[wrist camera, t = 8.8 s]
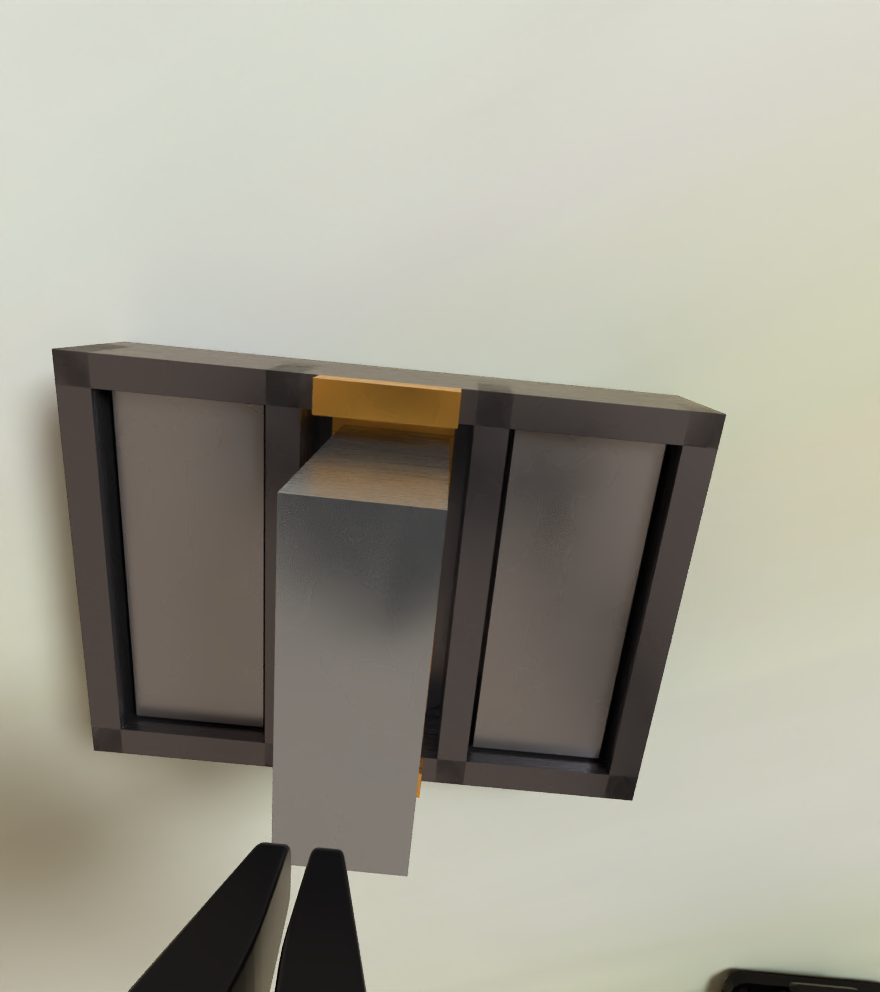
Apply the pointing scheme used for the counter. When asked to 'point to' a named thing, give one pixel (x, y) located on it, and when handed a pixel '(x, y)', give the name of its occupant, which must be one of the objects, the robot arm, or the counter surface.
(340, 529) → the grey rectangular block
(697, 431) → the rack
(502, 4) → the counter surface
